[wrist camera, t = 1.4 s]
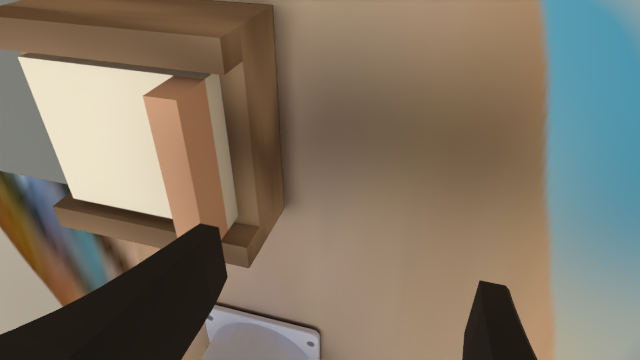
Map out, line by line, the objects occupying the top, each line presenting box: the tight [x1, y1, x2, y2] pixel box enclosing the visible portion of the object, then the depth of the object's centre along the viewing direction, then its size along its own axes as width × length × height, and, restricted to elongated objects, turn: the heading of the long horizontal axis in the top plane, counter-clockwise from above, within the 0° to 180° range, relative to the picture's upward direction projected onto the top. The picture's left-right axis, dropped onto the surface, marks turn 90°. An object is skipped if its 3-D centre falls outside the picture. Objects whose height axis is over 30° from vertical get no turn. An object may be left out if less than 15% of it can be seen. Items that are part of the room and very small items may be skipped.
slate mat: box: [0, 0, 68, 184], centre depth 23 cm, size 12×10×1 cm
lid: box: [18, 52, 238, 240], centre depth 18 cm, size 7×8×3 cm
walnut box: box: [0, 0, 284, 268], centre depth 19 cm, size 10×10×4 cm
